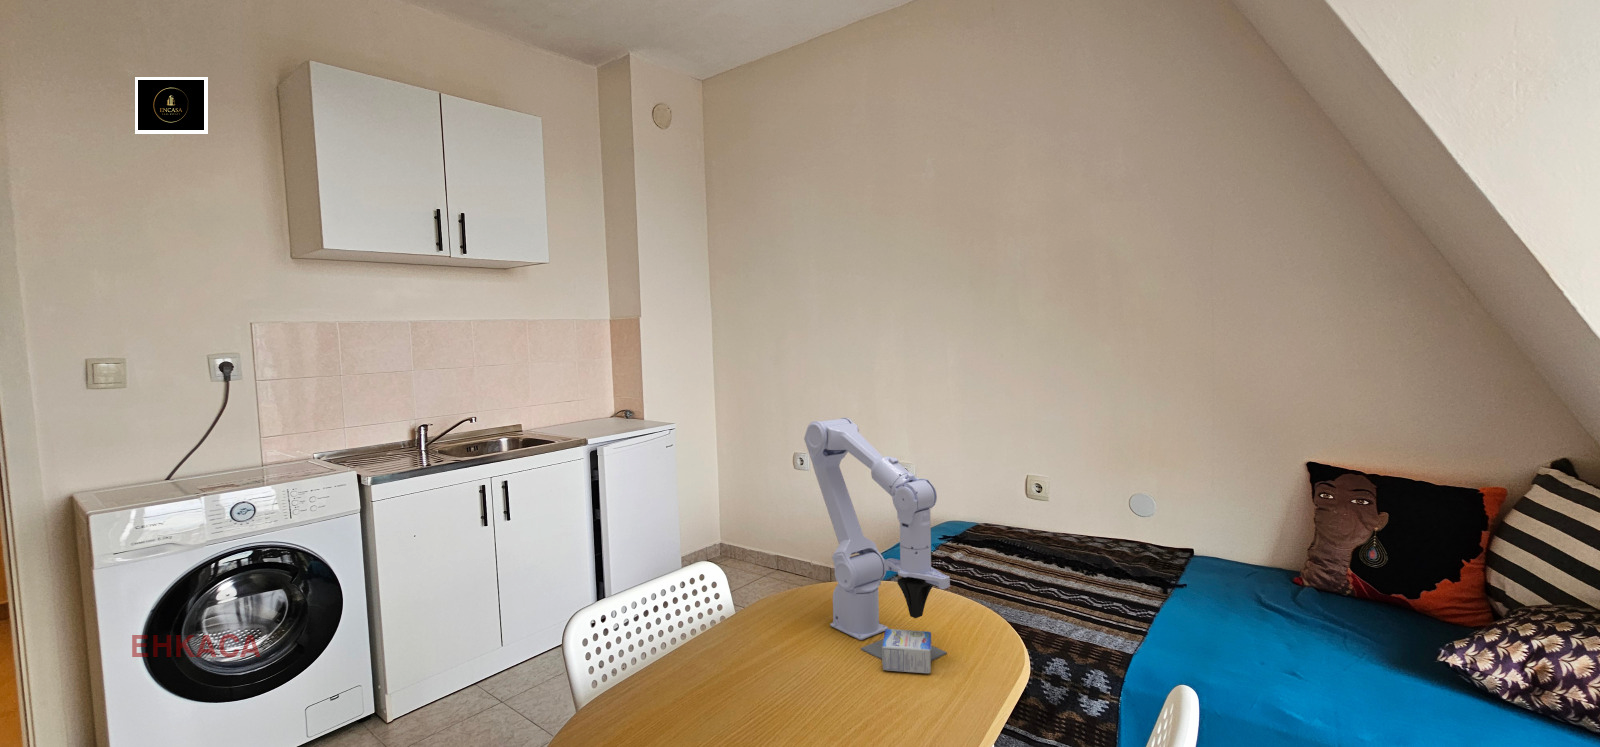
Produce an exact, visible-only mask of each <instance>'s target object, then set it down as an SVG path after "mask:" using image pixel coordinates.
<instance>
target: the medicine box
mask: <svg viewBox="0 0 1600 747" xmlns="http://www.w3.org/2000/svg"><path fill="white" fill-rule="evenodd" d="M882 639H883V645H882V660H881V662H882V665H881V666H882V669H883V671H889V672H890V671H893V672H903V673H904V672H906V673H917V674H918V673H919V674H931V670H932V661H931V645H932V633H931V631H925V630H909V629H898V628H897V629H894V628H888V629H886V630H885V631H884V635H883V638H882Z"/></svg>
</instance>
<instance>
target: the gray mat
mask: <svg viewBox="0 0 1600 747" xmlns="http://www.w3.org/2000/svg"><path fill="white" fill-rule="evenodd" d="M883 639H884V638H882V639H879V640H877V641H875V642H872V643H870V644H867V645H865V646H863V647H860V650H861V651H863V652H865V653H867V654H869V655H871V656H873V657H875V658H877V659H879V660H881V661H882V645H883ZM947 653H948V652H947V651H946V650H943V649H941V648H938V647H936V646H934V645H932V644H931V662H932V661H935V660H937V659H939V658H941V657H943V656H945V655H948V654H947Z"/></svg>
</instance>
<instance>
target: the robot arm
mask: <svg viewBox="0 0 1600 747" xmlns="http://www.w3.org/2000/svg"><path fill="white" fill-rule="evenodd" d="M803 439H804V443H805V446H806V448H807V452H808V454H809V457H810V461H811V463H812V468H813V471H814V474H815V476H816V480H817V482H818V483H817V484H818V485H819V488H820V492H821V494H822V497H823V501H824V504H825V507H826V509H827V513H828V515H829V519H830V521H831V524H832V527H833V531H834V534H835V536H836V539H837V542H838V546H837V547H836V550H835V551H834V553H833V554H832V556H831V559H832V561H833V565H834V578H835V580H836V582H837V585H836V586H835V587H834V590H833V593H832V622H831V623H829V624H830V627H831V628H834V629H836V630H838V631H840V632H842V633H845V635H846V634H847V635H849V636H850V637H853V638H855V639H856V640H860V641H863V640H865V639H868V638H870V637H873V636H875V635H878V634H880V633H883V632H885V630H886V629H889V627H888V626H886V625H884V624H882V623H880V612H879V611H880V608H879V605H880V603H879V601H880V600H879V599H880V598H879V587H880V586H881V583H882V582H881V581H882V580H883V579H884V578H885V576H886V574H887V572H889V571H892V572H894V573H897V575H898V576H899V577H901V578H898V579H897V581H896V583H897V585H898V587H899V589H900V590H901V592H902V594H903V596H904V598H905V602H906V605H907V610H908V613H909V617H911V618H913V619H918V618H920V617H922V616H923V614H924V609H925V605H926V603H927V599H928V597H929V594H930V592H931V590H932V588H934V586H936V587H938V589H941V590H945V589H948V588H950V587H951V583H950V582H951V578H950V576H949V575H946V574H944V573H942V571H941V572H940V571H939V570H937V569H936V568H934V567H932V535H931V534H932V533H931V532H932V530H931V529H932V528H931V526H932V525H931V509H933V507H934V506H935V505H936V503H937V500H938V499H937V498H938V496H937V491H936V487H935V486H934V485H933V483H932V482H931V481H930V480H929V479H928V478H923V477H922V478H919V477H917V476H915V475H914V473H912V472H910V471H909V470H907V469H906V468H905V467H904V466H903V465H901V464H900V463H899V459H898V458H897V457H896V456H893V457H892V456H891V455H890V456H889V455H888V456H883V455H882V454H881V453H880V452H879V451H878V450H877V449H876V448H875V447H874V446H873V445H872V444H871V443H870V442H869V441H868V440H867V439H866V438H865V437H864V435H862V434H861V433H860V429H859V426H858V425H857V424H856V423H855V422H853V420H852V419H850V418H849V417H842V418H837V419H828V420H814V421H811V422H810V423H809V424H808V426H807V428H806V431H805V435H804V437H803ZM848 453H849V454H850V455H851V456H853V457H854V458H855V459H857V461H859V462H860V463H861V464H863V465H864V466H866V467H867V468H868V469H869V470H870V474H871V478H872V480H873V481H874V482H875V483H877V484H878V485H879V486H880V487H881V488H882V489H883V490H884V491H885V492H886V493H887V494H889V496H891V498H892V504H893V506H894V508H895V510H896V513H897V516H896V517H897V519H898V522H899V554H900V555H899V558H900V559H897V558H893V557H891V558H887V559H885V558H884V556H883V555H882V554H881V552H880V551H879V549H878V548H877V545H876V543H875V542H874V541H872V540H871V539H869V538H868V537H866V536H865V535H864V532H863V530H862V528H861V525H860V522H859V519H858V516H857V514H856V510H855V507H854V504H853V502H852V499H851V496H850V493H849V490H848V487H847V484H846V482H845V479H844V475H843V473H842V470H841V466H840V464H841V462H842V460H844V458H845V457H846V456H847V454H848ZM851 555H852V556H851Z"/></svg>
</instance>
